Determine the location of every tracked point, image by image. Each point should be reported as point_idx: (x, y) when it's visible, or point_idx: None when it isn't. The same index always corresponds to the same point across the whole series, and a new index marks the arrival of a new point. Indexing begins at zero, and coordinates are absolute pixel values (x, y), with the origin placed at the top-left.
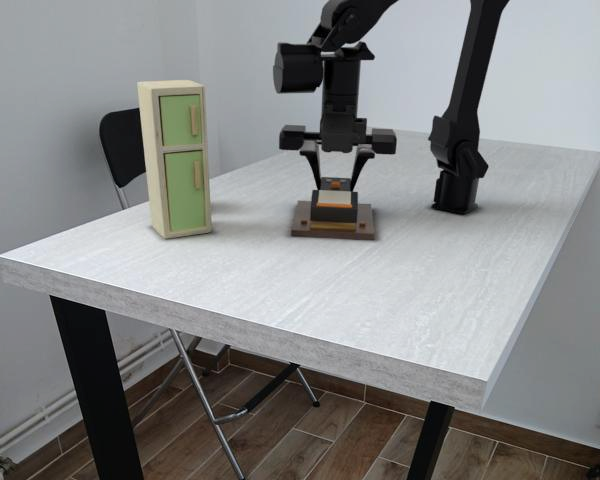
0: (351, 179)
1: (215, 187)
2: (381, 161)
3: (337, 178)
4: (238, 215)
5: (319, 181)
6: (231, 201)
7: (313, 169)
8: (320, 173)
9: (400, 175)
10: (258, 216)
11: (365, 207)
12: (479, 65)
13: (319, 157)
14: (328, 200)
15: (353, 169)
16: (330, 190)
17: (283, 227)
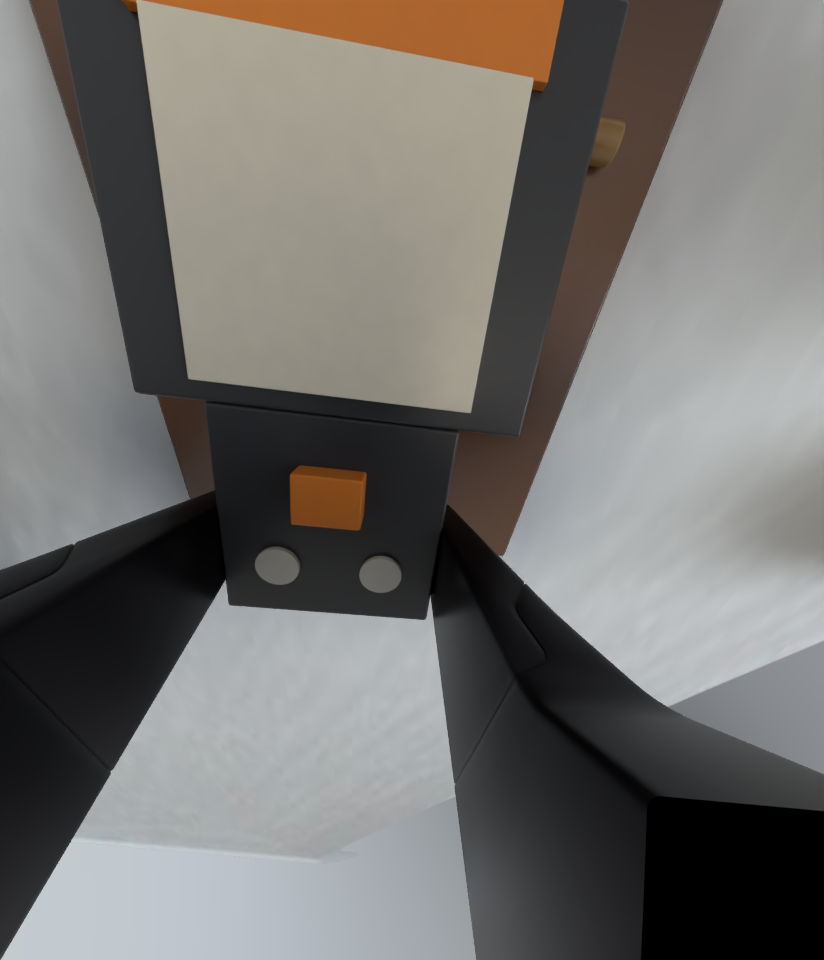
0: (183, 538)
1: (696, 669)
2: (257, 783)
3: (319, 601)
4: (804, 422)
5: (454, 539)
6: (721, 576)
7: (544, 615)
8: (441, 626)
9: (196, 738)
10: (719, 411)
11: (212, 482)
12: None
13: (459, 791)
14: (408, 154)
15: (98, 616)
16: (374, 422)
17: (683, 198)
